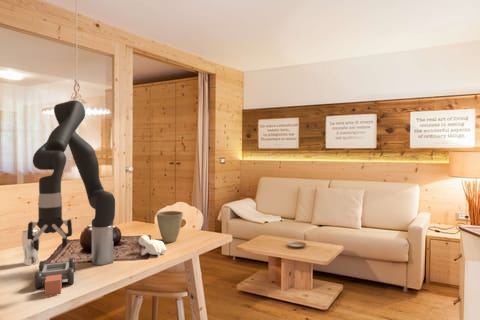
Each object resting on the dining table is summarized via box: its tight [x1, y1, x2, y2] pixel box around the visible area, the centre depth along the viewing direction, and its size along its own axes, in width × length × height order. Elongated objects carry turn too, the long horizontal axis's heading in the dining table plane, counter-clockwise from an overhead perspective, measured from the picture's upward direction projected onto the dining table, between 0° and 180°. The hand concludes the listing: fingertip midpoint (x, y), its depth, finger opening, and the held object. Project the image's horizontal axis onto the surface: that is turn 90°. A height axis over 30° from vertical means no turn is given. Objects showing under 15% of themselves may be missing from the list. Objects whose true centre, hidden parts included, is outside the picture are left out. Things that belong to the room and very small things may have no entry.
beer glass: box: [21, 228, 41, 266], centre depth 159 cm, size 7×7×15 cm
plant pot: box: [156, 210, 184, 243], centre depth 199 cm, size 15×15×16 cm
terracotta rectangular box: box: [44, 274, 63, 297], centre depth 128 cm, size 5×6×6 cm
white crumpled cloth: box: [138, 234, 168, 258], centre depth 175 cm, size 9×8×15 cm
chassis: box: [34, 257, 76, 289], centre depth 140 cm, size 13×19×6 cm
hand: (50, 248), depth 127 cm, fingers open, 8 cm apart
